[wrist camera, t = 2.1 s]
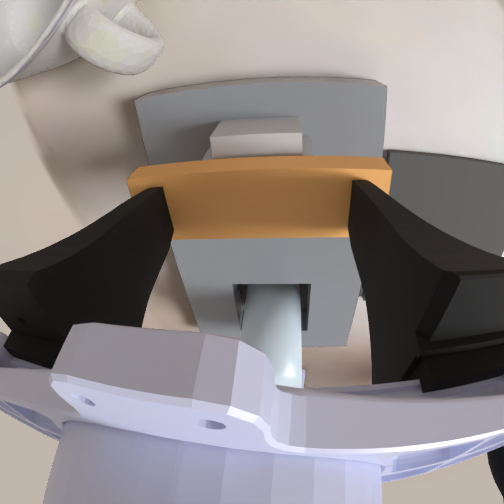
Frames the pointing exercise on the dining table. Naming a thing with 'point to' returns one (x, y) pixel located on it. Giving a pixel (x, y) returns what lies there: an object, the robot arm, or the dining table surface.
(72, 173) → the dining table surface
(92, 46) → the teacup
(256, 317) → the cylinder
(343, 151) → the housing
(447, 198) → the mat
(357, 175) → the plunger
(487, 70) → the dining table surface
